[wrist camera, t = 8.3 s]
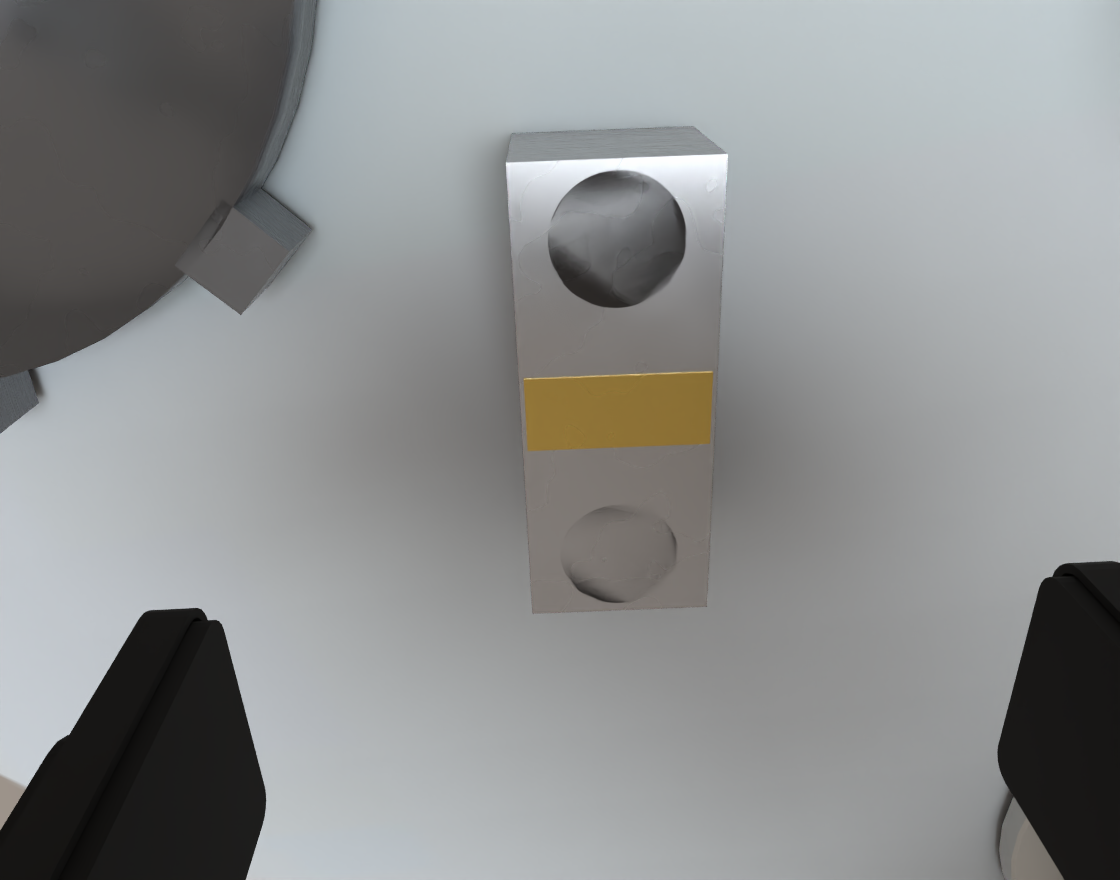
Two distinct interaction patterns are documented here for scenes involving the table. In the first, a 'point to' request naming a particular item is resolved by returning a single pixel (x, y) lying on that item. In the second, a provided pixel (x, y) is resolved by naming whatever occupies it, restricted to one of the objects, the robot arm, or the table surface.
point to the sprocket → (137, 164)
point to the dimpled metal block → (617, 361)
